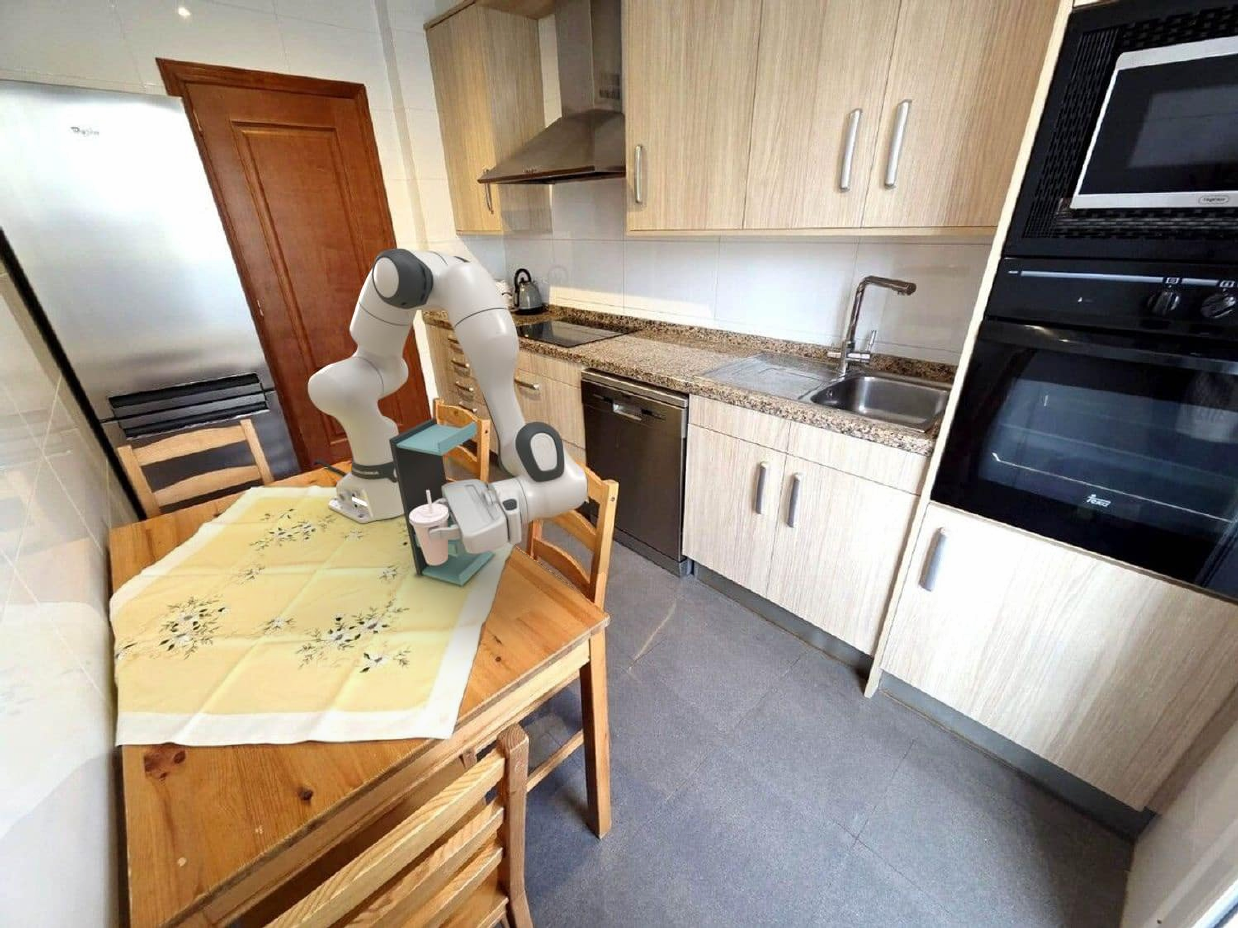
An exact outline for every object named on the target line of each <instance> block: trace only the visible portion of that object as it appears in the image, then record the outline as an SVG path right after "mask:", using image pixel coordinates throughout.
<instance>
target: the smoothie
mask: <svg viewBox="0 0 1238 928" xmlns="http://www.w3.org/2000/svg"><path fill="white" fill-rule="evenodd" d="M426 494H427V499H428V504H426V505H422V506H419V507H417V508H415V509H414V510H413V511H412V512H411V513H410V515H409V518H410V523H411V524H412V525H413V526H414V529H415V532H416V535H417V537H418V540H419V543H420V546H421V548H422V551H423V554H424V557H425V559H426V562H427V564H429V565H440V564H442V563H444V562H445V561H447V559H448V540H447V539H439V540H435V541H431V540H430V537H429V533H428V529H429V528H431V527H435V526H439V528H447V527H448V522H447V519H448V517H449V512H448V508H447V507H446V506H444V505H442V504H432V502H431V496H430V490H426Z"/></svg>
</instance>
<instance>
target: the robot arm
mask: <svg viewBox="0 0 1238 928" xmlns="http://www.w3.org/2000/svg"><path fill="white" fill-rule="evenodd" d="M508 307H509V306H508V305H507V303H506V300H505V299H504V297H503V295H502V293H501V291H500V289H499V287H498V286H497V283H496V282H495V281H494V279H493V278H492V276H491V275H490V273H489V271H488V270H487V269H486V268H485V267H484V266H482V265H481V264H480V263H476V262H472V261H469V260H468V259H465V258H463V257H461V256H457V255H454V256H453V255H450V254H446V253H443V252H437V251H431V250H428V251H427V250H426V251H425V250H414V249H413V250H409V249H406V248H390V249H386V250H382V251H381V252H380V253H379V254H378V255H377V256H376V258H375V259H374V261H373V265H372V268H371V270H370V272H369V273H368V276H367V277H366V279H365V282H364V284H363V285H362V288H361V290H360V293H359V296H358V299H357V303H356V305H355V309H354V312H353V315H352V318H351V321H350V325H349V334H350V336H351V338H352V339H353V341H354V342H355V343H356V345H357V348H356V351H355V352H354V353H353V355H351V356H350V357H348V358H345V359H342V360H340V361H337V362H333V363H330V364H328V365H326V366H324V367H322V368H321V369H319V371H317V372H316V373H314V374H312V376H310V378H309V380H308V383H307V392H308V396H309V399H310V400H311V402H312V404H313V405H314V406H315V407H316V408H317V409H318V410H319V411H321V412H322V413H324V414H326V415H328V416H331V417H333V418H334V419H336V420H337V422H338V423H339V424H340V426H341V427H342V428H343V431H344V432H345V434H346V437H347V440H348V443H349V447H350V451H351V454H352V457H351V458H350V459H348V460H346V461H345V462H346V466H349V465H351V468H350V471H349V472H348V473H346V472H345V471H343V470H341V469H339V468H337V467H334V466H332V465H330V464H328V463H327V462H325V461H323V460H316V461H314V462H313V466H317V465H318V464H319V465H322V466H324V467H325V468H327V469H329V470H330V471H333V472H334V473H335V472H336V473H338V474H339V475H342V476H343V477H342V478H341V479H340V480H338V482H337V483H336V485H335V493H336V495H335V496H334V497H333V498H332V499H330V501H329V502H328V504H327V505H328V508H329V509H330V510H333V512H334V511H335V512H336V513H338V514H340V515H343V516H345V517H347V518H349V519H351V520H352V521H355V522H357V523H359V524H367V523H372V522H374V521H381V520H389V519H393V518H396V517H400V516H403V515H405V514H404V510H403V505H402V500H401V495H400V490H399V486H398V481H397V476H396V471H395V466H394V462H393V457H392V452H391V447H390V442H389V439H391V438H393V437H395V436H397V435H399V434H400V433H399V428H398V425H397V423H396V422H395V421H394V420H393V419H391V418H389V417H387V416H384V415H383V414H382V413H381V411H380V409H379V405H378V401H380V400H383V399H384V398H386V397H388V396H391V395H393V394H394V393H396V392H397V391H398V390H400V388H401V387H402V386H403V385H405V383H406V382H407V381H408V378H409V367H408V364H407V362H406V361H405V359H404V358H403V354H404V353H403V352H404V348H405V344H406V342H407V339H408V336H409V334H410V331H411V328H412V326H413V323H414V320H415V317H416V315H417V312H418V311H424V312H439V311H444V312H445V313H446V315H447V317H448V321H449V323H450V325H451V328H452V330H453V332H454V335H455V338H456V340H457V342H458V345H459V347H460V349H461V351H462V352H463V355H464V357H465V359H466V361H467V363H468V365H469V367H470V369H471V371H472V373H473V376H474V378H475V381H476V382H477V384H478V387H479V389H480V392H481V394H482V398H483V400H484V404H485V406H486V408H487V411H488V414H489V417H490V419H491V422H492V425H493V428H494V430H495V433H496V437H497V462H498V466H499V469H500V471H501V472H502V473H503V474H504V475H505V476H506V478H507V479H502V480H498V481H494V482H486V481H483V480H481V479H477V478H474V479H473V478H472V479H471V478H470V479H463V480H456V481H450V482H449V481H448V482H447V483H446V484H444V485H443V486H442V487H441V489H442V496H443V498H442V499H438V500H437V501H435V502H433V503H432V504H442V505H444V506H446V507H447V508H448V512H449V514H450V516H451V518H452V521H453V523H454V525H451V527H447V528H439V526H435V527H431V528H429V529H428V533H429V537H430V540H431V541H435V540H439V539H447V540H456V539H460V538H461V540H462V543H463V545H464V547H465V549H466V551H467V552H468V553H473V554H478V553H483V552H487V551H490V550H492V551H494V550H497V549H500V548H503V547H505V546H506V545H508V544H510V545H517V544H519V543H521V542H522V537H523V536H522V526H524V525H527V524H529V523H531V522H533V521H535V520H537V519H550V518H553V517H554V518H555V517H557V516H561V515H563V514H567V513H570V512H572V511H574V510H576V509H578V508H579V507H581V506H582V505H583V504H584V503H585V501H586V499H587V495H588V491H589V482H588V477H587V474H586V472H585V469H584V468H582V467H581V466H580V465H578V464H577V463H576V461H574V459H573V458H572V457H571V455H570V454H569V452H568V451H567V449H566V447H565V444H564V443H563V439H562V437H561V435H560V433H559V431H558V430H557V429H556V428H555V427H553V426H552V425H550V424H549V423H547V422H543V421H532V422H529V423H526V419H525V417H524V414H523V412H522V409H521V406H520V402H519V400H518V398H517V395H516V391H515V385H514V384H515V382H514V378H515V376H514V375H515V369H516V364H517V360H518V355H519V351H520V341H519V336H518V332H517V328H516V325H515V322H514V319H513V316H512V314H511V311H510V309H509V308H508Z"/></svg>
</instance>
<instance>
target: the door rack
mask: <svg viewBox="0 0 1238 928" xmlns="http://www.w3.org/2000/svg"><path fill="white" fill-rule="evenodd" d="M476 435H478V426H477V421H472V422H471V423H469V424H467V425H465V426H464V427H462V428H461V427H455V426H450V425H443V424H439V423H438V420H437V418H436V417H431V418H429V419H427V420H425V421H422V422H421V423H419V424H417V425H415V426H413V427H411V428H408V429H407V430H405V431H403V432H401V433H399V435H397V436H395V437H393V438H391V439H389V442H390V447H391V452H392V457H393V462H394V466H395V471H396V476H397V481H398V486H399V490H400V495H401V500H402V505H403V510H404V514H403V515H404V519H405V524H406V529H407V534H408V539H409V544H410V548H411V552H412V557H413V562H414V567H415V572H416V575H417V576H423V575H424V576H427V577H430V578H434V579H436V580H440V581H444V582H447V583H452V584H454V585H458V586H461V587H462V586H464V585H465V584H466V583H467V582H468V581H469V580H470V579H471V578H472V577H473V576H474V575H475V574H476V572H478V571H479V570H480V569H481V568H482V567H483V566H484V565H485V564H486V563H487V562H488V561H489V560H490V559H491V558H492V557H493V550H490V551H487V552H483V553H478V554H473V553H468V552H467V551H466V549H465V547H464V545H463V543H462V540H461V538H460V539H456V540H448V559H447V561H445V562H444V563H442V564H440V565H429V564H427V562H426V559H425V557H424V554H423V551H422V548H421V546H420V543H419V540H418V537H417V535H416V532H415V529H414V526H413V525H412V524H411V523H410V518H409V515H410V513H411V512H412V511H413V510H414V509H415V508H417V507H419V506H422V505H426V504H428V499H427V494H426V490H430V496H431V502H432V503H433V502H435V501H437V500H438V499H442V498H443V496H442V489H441V487H442V486H443V485H444V484H446V483H448V482H447V476H446V469H445V464H444V463H445V462H444V459H443V458H444V456H443V455H445V454H447V453H448V452H450V451H452V450H453V449H455V448H456V447H458V446H460V445H462V444H464V443H465V442H467V441H468V440H470V439H472V438H473V437H475V436H476ZM447 522H448V527H451V525H454V523H453V521H452V518H451V516H450V514H449V517H448V519H447Z"/></svg>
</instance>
